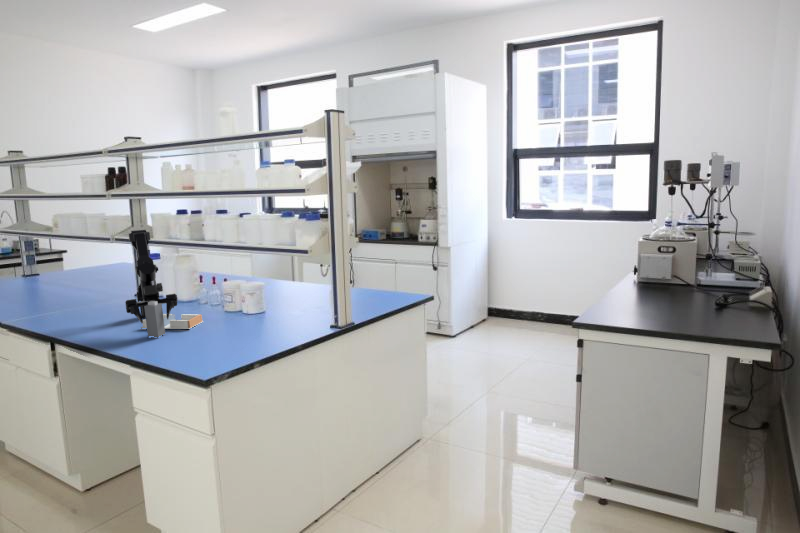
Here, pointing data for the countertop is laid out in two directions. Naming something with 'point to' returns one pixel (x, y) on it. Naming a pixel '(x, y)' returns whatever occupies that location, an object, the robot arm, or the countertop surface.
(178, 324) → the white tray with rails
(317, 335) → the countertop surface
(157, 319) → the grey pedestal with block
